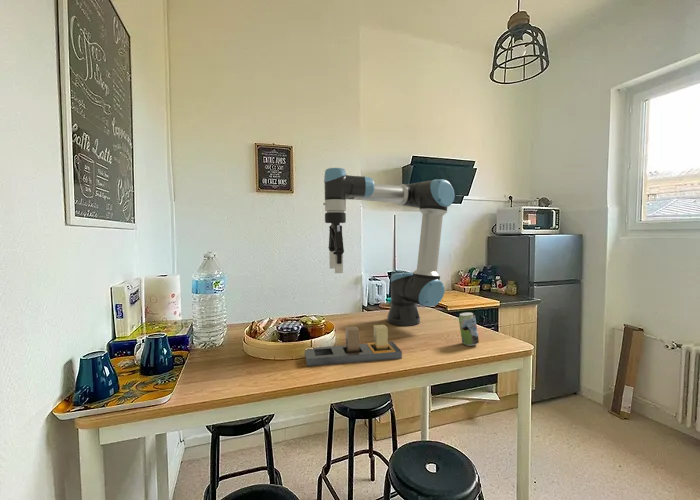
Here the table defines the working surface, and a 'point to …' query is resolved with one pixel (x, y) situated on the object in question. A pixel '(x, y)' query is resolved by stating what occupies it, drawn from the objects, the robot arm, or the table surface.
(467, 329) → the beverage can
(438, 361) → the table surface
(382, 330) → the pale yellow block
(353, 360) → the grey peg insertion board
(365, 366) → the table surface
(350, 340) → the brown rectangular block
